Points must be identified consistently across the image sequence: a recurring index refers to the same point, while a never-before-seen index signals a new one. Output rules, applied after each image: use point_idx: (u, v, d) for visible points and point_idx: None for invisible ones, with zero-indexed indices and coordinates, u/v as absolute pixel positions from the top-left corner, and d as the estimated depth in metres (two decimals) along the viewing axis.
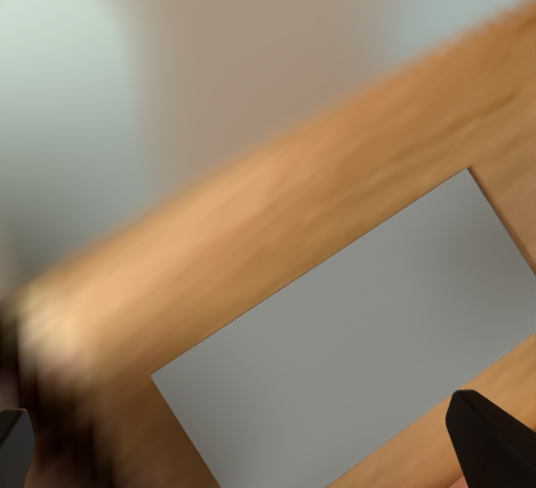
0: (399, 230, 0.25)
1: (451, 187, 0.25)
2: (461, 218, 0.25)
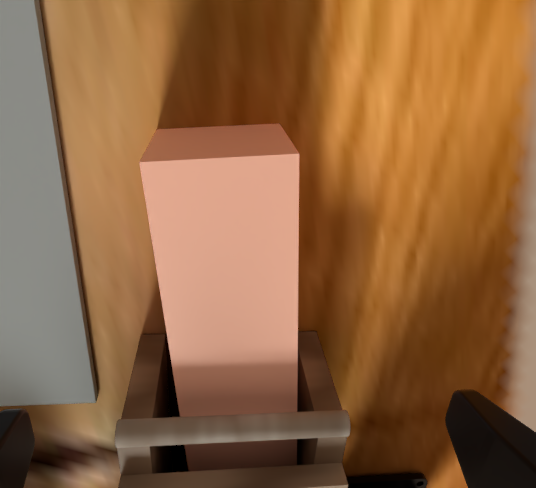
0: None
1: None
2: None
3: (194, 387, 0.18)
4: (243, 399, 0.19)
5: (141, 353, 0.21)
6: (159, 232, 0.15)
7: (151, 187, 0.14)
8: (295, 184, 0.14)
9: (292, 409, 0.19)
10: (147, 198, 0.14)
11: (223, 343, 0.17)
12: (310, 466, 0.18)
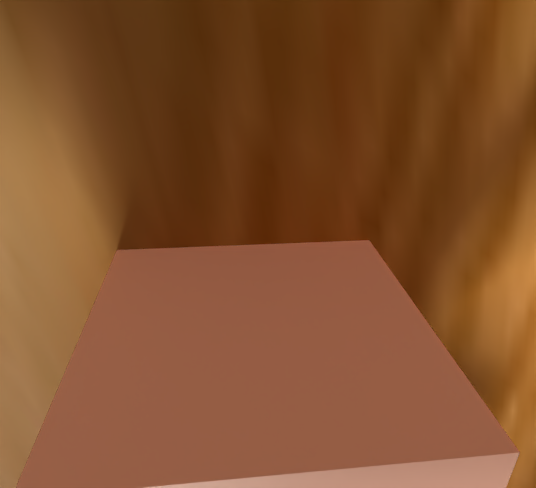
0: None
1: None
2: None
3: None
4: None
5: None
6: None
7: None
8: None
9: None
10: None
11: None
12: None
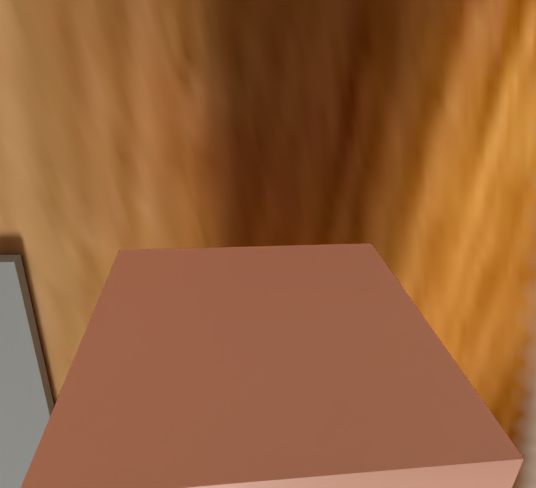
0: None
1: None
2: None
3: None
4: None
5: None
6: None
7: None
8: None
9: None
10: None
11: None
12: None
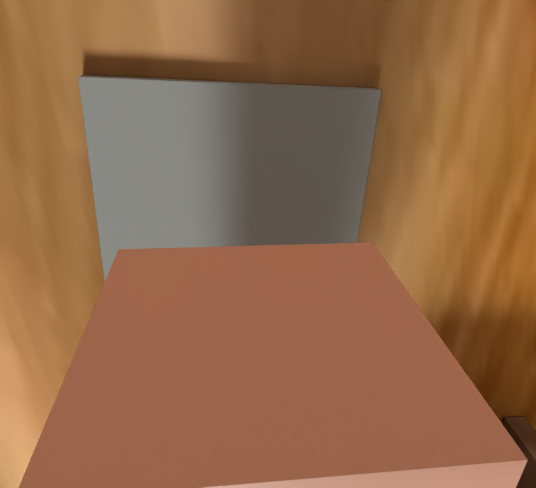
0: (122, 232, 0.17)
1: (99, 122, 0.15)
2: (154, 140, 0.15)
3: None
4: None
5: None
6: None
7: None
8: None
9: None
10: None
11: None
12: None
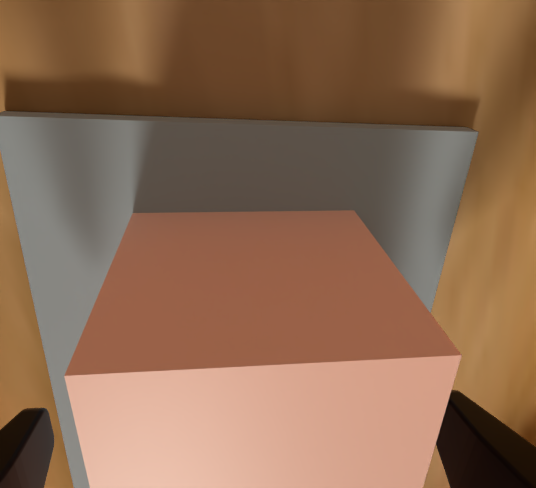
0: (78, 340, 0.11)
1: (32, 186, 0.09)
2: (122, 210, 0.10)
3: None
4: None
5: None
6: None
7: (96, 424, 0.06)
8: (437, 411, 0.06)
9: None
10: (86, 444, 0.06)
11: None
12: None
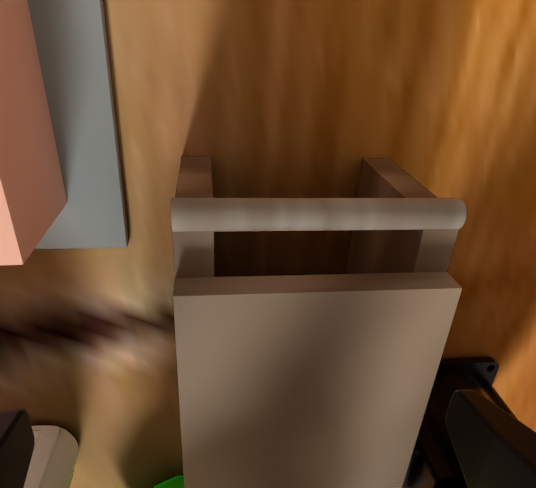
0: None
1: None
2: None
3: None
4: None
5: (186, 166, 0.17)
6: None
7: None
8: None
9: None
10: None
11: None
12: (409, 274, 0.15)
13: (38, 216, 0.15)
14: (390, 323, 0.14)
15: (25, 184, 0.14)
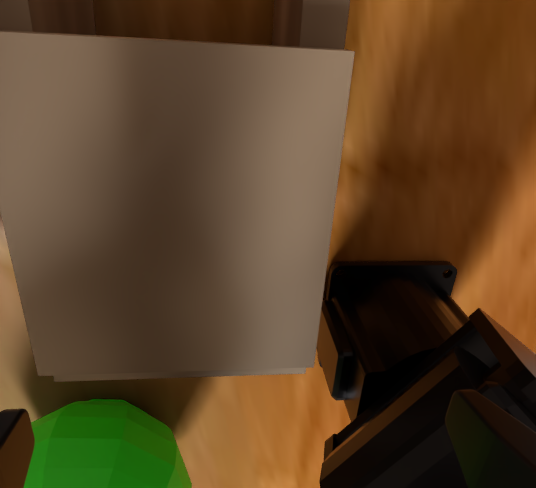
0: None
1: None
2: None
3: None
4: None
5: None
6: None
7: None
8: None
9: None
10: None
11: None
12: (293, 47, 0.11)
13: None
14: (264, 103, 0.11)
15: None
